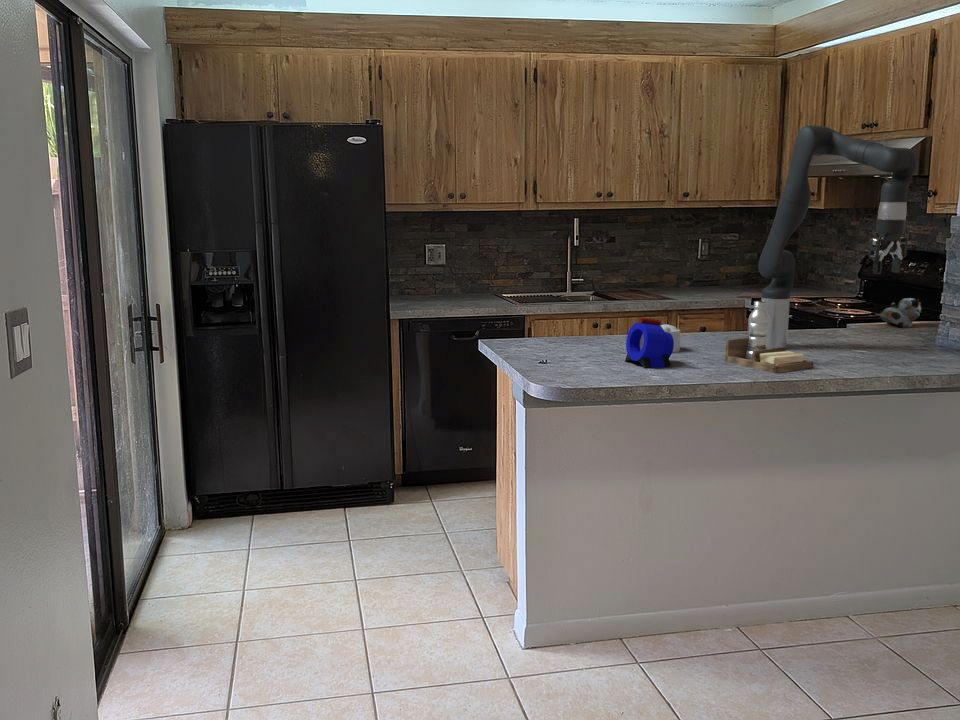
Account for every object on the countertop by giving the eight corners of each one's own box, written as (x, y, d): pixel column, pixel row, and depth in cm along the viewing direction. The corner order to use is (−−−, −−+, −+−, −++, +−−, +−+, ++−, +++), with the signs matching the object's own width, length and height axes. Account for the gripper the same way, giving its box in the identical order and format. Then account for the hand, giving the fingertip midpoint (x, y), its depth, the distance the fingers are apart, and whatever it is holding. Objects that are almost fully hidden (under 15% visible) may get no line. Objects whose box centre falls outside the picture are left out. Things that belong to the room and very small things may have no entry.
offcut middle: (759, 367, 264) (760, 360, 264) (783, 363, 270) (784, 357, 270) (777, 371, 259) (777, 364, 259) (801, 367, 265) (802, 360, 264)
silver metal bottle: (740, 364, 274) (744, 300, 271) (757, 362, 277) (761, 299, 273) (754, 368, 269) (758, 303, 265) (772, 366, 271) (776, 302, 268)
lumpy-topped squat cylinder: (683, 352, 296) (684, 326, 294) (649, 354, 292) (650, 328, 290) (667, 346, 306) (668, 322, 304) (633, 348, 302) (634, 323, 300)
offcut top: (759, 360, 265) (759, 353, 265) (788, 357, 269) (788, 351, 269) (774, 364, 259) (774, 357, 259) (803, 361, 263) (803, 354, 263)
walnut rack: (724, 365, 274) (726, 339, 272) (761, 360, 281) (763, 335, 280) (774, 377, 256) (776, 350, 255) (812, 371, 264) (814, 345, 263)
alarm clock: (622, 361, 279) (624, 315, 276) (656, 359, 283) (658, 313, 280) (642, 369, 268) (644, 320, 265) (677, 366, 272) (679, 318, 269)
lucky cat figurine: (884, 321, 362) (905, 292, 358) (910, 336, 354) (931, 307, 351) (873, 315, 351) (894, 285, 347) (899, 330, 343) (921, 299, 340)
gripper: (895, 216, 264) (890, 270, 268) (864, 217, 257) (859, 273, 261) (918, 218, 258) (912, 273, 261) (887, 218, 251) (881, 275, 254)
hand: (886, 273), depth 261 cm, fingers open, 8 cm apart
